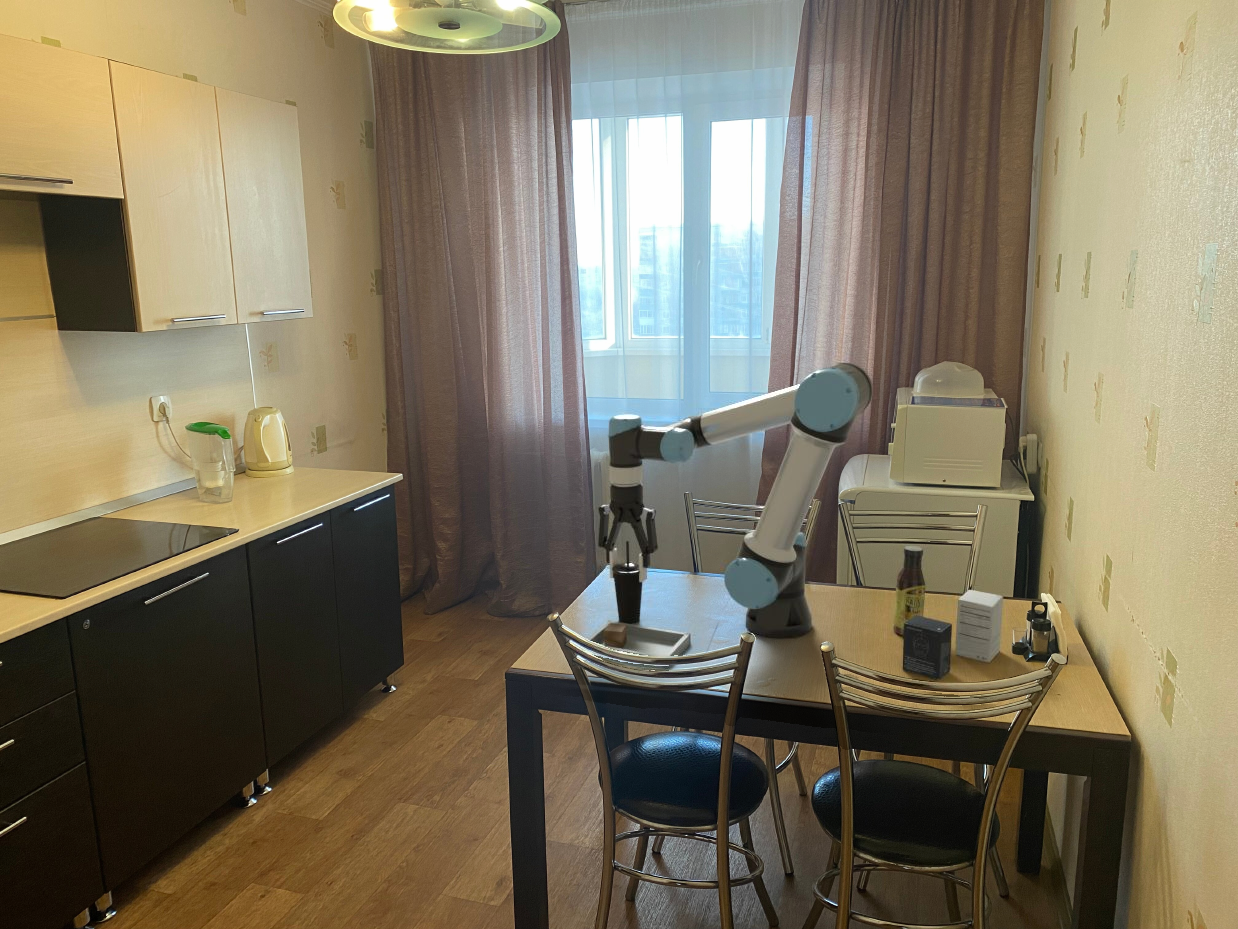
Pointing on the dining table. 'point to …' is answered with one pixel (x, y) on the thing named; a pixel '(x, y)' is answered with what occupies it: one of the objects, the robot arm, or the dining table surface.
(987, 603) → the supplement box
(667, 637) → the tray
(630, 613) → the drinking cup
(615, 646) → the walnut block
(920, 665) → the box
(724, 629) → the dining table surface
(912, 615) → the sauce bottle
